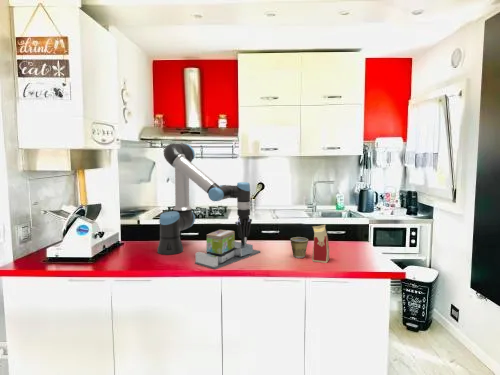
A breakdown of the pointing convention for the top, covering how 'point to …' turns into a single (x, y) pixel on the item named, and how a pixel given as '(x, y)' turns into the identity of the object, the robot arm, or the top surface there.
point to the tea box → (221, 244)
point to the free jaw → (243, 249)
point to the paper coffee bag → (320, 245)
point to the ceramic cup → (299, 246)
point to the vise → (212, 260)
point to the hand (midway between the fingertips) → (243, 248)
